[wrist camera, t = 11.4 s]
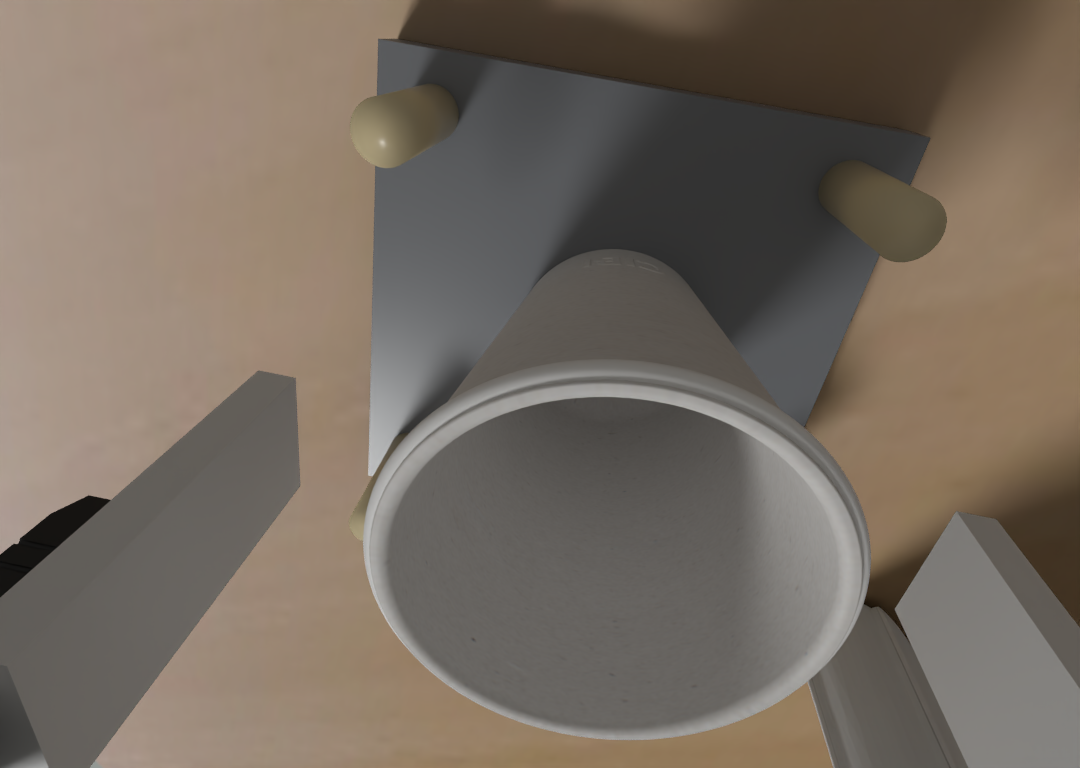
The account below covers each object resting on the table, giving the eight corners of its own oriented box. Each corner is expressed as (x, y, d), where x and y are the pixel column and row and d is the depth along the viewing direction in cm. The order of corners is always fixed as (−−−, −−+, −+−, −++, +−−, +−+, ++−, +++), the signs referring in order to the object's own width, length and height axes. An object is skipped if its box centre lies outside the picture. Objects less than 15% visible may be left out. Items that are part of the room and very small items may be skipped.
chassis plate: (906, 130, 17) (1020, 166, 12) (743, 521, 24) (775, 643, 19) (396, 38, 17) (310, 39, 12) (381, 451, 24) (322, 554, 19)
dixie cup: (475, 187, 17) (334, 340, 9) (783, 214, 17) (965, 405, 8) (472, 438, 21) (375, 714, 13) (720, 466, 21) (795, 773, 12)
